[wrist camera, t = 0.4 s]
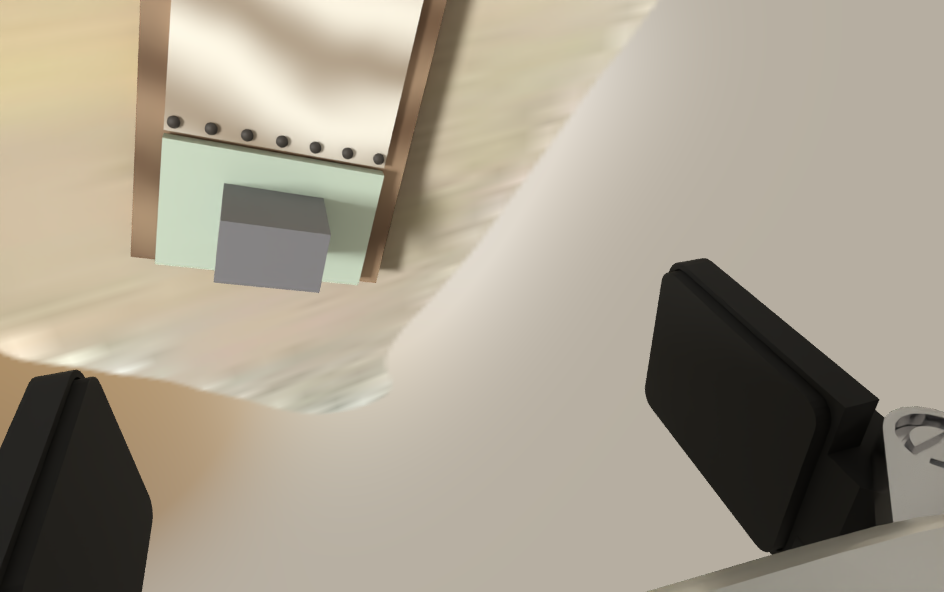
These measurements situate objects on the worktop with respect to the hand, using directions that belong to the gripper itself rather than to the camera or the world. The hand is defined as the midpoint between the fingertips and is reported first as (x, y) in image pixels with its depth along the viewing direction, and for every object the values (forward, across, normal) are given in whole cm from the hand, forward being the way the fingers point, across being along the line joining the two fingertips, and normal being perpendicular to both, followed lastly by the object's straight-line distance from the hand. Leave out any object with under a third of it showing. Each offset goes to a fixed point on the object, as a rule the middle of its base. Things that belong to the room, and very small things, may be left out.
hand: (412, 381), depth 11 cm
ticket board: (+34, +1, +4) cm, 34 cm away
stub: (+32, +4, +11) cm, 34 cm away
